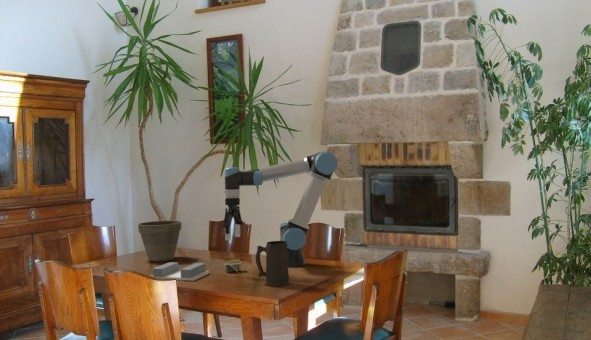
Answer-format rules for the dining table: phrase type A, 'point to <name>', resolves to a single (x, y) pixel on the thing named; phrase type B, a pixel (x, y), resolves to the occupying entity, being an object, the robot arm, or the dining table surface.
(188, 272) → the tray with grey blocks
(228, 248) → the dining table surface
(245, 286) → the dining table surface
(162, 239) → the plant pot
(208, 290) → the dining table surface
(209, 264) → the dining table surface
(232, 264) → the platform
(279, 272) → the beer stein
